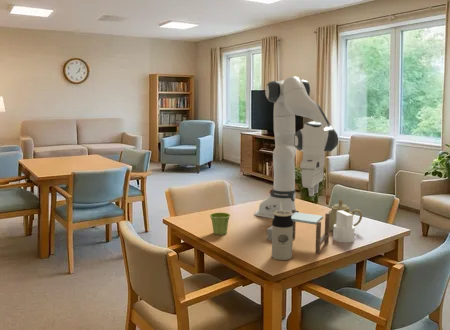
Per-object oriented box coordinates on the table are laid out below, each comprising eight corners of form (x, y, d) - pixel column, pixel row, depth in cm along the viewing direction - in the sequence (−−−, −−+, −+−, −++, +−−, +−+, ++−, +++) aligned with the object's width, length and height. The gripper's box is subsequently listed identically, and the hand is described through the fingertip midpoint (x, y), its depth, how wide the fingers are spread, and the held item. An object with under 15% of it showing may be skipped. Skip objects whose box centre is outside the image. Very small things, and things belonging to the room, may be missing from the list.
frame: (280, 247, 189) (280, 217, 187) (292, 237, 203) (292, 209, 201) (319, 254, 181) (320, 222, 179) (328, 242, 196) (329, 213, 194)
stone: (267, 239, 200) (267, 228, 199) (270, 236, 204) (271, 226, 203) (277, 241, 197) (278, 230, 197) (281, 238, 202) (281, 227, 201)
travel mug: (273, 252, 183) (274, 209, 180) (293, 254, 181) (294, 211, 178) (269, 259, 175) (270, 214, 173) (290, 261, 173) (291, 216, 170)
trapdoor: (280, 221, 190) (280, 216, 189) (288, 215, 199) (289, 211, 199) (315, 227, 183) (316, 222, 183) (322, 220, 193) (323, 215, 192)
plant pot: (215, 237, 202) (215, 218, 201) (206, 231, 211) (206, 213, 209) (233, 234, 207) (233, 216, 205) (224, 229, 215) (224, 211, 214)
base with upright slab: (358, 241, 198) (359, 214, 196) (339, 243, 195) (341, 216, 193) (347, 235, 206) (348, 209, 204) (329, 237, 204) (330, 211, 202)
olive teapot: (358, 226, 220) (359, 196, 217) (361, 233, 209) (363, 202, 207) (326, 225, 222) (328, 195, 219) (328, 232, 211) (330, 200, 208)
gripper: (312, 158, 196) (312, 189, 198) (299, 164, 178) (298, 199, 180) (327, 158, 193) (327, 190, 195) (314, 165, 175) (314, 200, 177)
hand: (313, 194), depth 187 cm, fingers open, 4 cm apart
